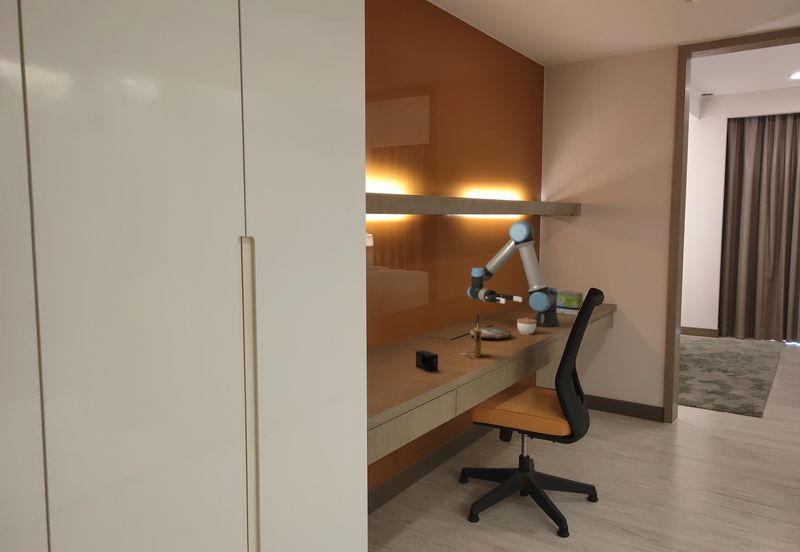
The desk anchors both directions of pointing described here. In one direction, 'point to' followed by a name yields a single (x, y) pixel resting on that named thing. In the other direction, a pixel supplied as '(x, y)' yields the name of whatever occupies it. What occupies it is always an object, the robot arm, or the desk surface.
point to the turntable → (492, 332)
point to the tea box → (569, 302)
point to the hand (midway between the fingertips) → (513, 300)
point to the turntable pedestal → (490, 338)
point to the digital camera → (426, 360)
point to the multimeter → (476, 341)
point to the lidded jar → (526, 326)
